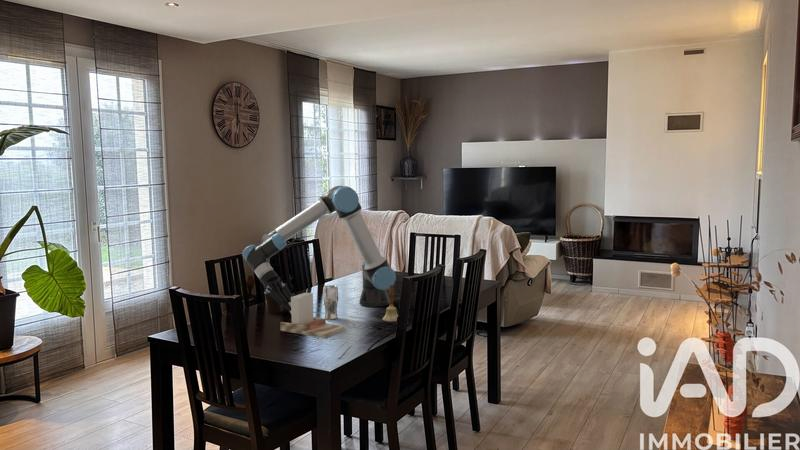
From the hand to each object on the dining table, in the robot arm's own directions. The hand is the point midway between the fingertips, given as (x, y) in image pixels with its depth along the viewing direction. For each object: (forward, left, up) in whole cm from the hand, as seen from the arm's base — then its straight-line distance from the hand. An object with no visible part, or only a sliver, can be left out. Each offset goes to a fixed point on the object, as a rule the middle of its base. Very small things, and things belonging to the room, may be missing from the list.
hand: (296, 315), depth 261 cm
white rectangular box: (-3, +1, -4) cm, 5 cm away
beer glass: (-13, -15, -6) cm, 21 cm away
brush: (-41, -12, -6) cm, 43 cm away
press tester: (-7, +4, -6) cm, 10 cm away
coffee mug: (+16, -30, -6) cm, 34 cm away
